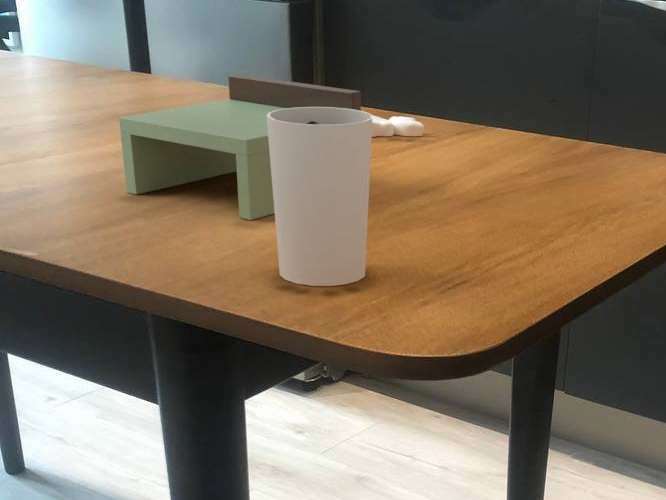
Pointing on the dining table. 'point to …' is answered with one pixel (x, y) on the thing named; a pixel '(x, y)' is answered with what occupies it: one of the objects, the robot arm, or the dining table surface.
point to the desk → (219, 139)
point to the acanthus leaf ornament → (396, 126)
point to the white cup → (320, 192)
